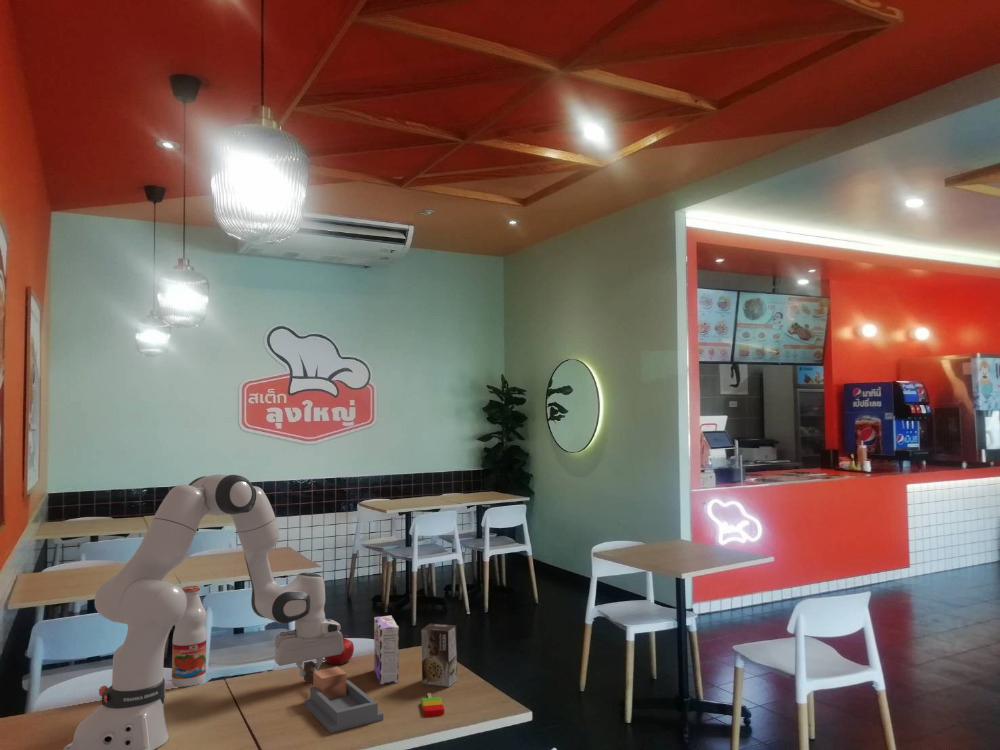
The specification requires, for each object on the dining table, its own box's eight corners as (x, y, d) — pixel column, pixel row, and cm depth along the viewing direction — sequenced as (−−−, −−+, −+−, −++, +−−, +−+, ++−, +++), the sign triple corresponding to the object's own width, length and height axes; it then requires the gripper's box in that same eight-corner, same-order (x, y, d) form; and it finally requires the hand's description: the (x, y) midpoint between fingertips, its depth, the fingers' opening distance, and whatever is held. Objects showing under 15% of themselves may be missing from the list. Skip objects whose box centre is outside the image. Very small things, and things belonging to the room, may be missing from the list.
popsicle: (424, 718, 181) (424, 711, 181) (419, 697, 195) (419, 690, 196) (445, 716, 182) (445, 709, 182) (438, 695, 197) (438, 689, 197)
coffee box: (457, 680, 207) (457, 625, 209) (449, 687, 201) (448, 630, 203) (430, 676, 211) (430, 622, 212) (420, 684, 205) (420, 628, 206)
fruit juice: (203, 674, 215) (205, 582, 217) (207, 683, 207) (210, 588, 209) (169, 680, 210) (172, 586, 212) (173, 689, 202) (176, 592, 204)
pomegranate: (357, 657, 230) (358, 628, 231) (347, 667, 220) (348, 637, 221) (329, 655, 232) (330, 627, 232) (317, 665, 222) (318, 635, 223)
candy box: (373, 670, 217) (373, 616, 219) (392, 667, 219) (392, 614, 220) (379, 685, 204) (379, 628, 205) (399, 682, 206) (399, 626, 207)
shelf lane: (331, 733, 172) (331, 714, 172) (304, 705, 189) (304, 688, 189) (383, 719, 179) (383, 701, 180) (353, 694, 197) (353, 678, 197)
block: (321, 705, 188) (321, 678, 188) (296, 681, 207) (296, 656, 207) (346, 699, 192) (346, 673, 192) (319, 676, 210) (319, 652, 211)
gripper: (278, 635, 200) (277, 685, 199) (345, 624, 212) (345, 670, 210) (272, 630, 205) (271, 678, 204) (338, 619, 217) (337, 665, 216)
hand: (309, 674), depth 207 cm, fingers closed on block, 2 cm apart
